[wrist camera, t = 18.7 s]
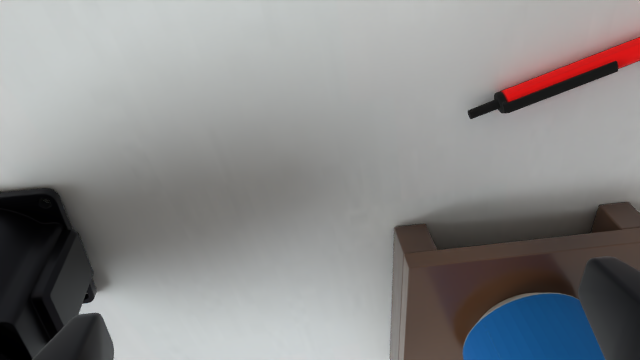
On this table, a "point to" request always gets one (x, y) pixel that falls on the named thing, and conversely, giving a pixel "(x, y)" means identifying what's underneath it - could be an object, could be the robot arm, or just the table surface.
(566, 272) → the shelf
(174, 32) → the table surface
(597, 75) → the pen
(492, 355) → the beverage can
